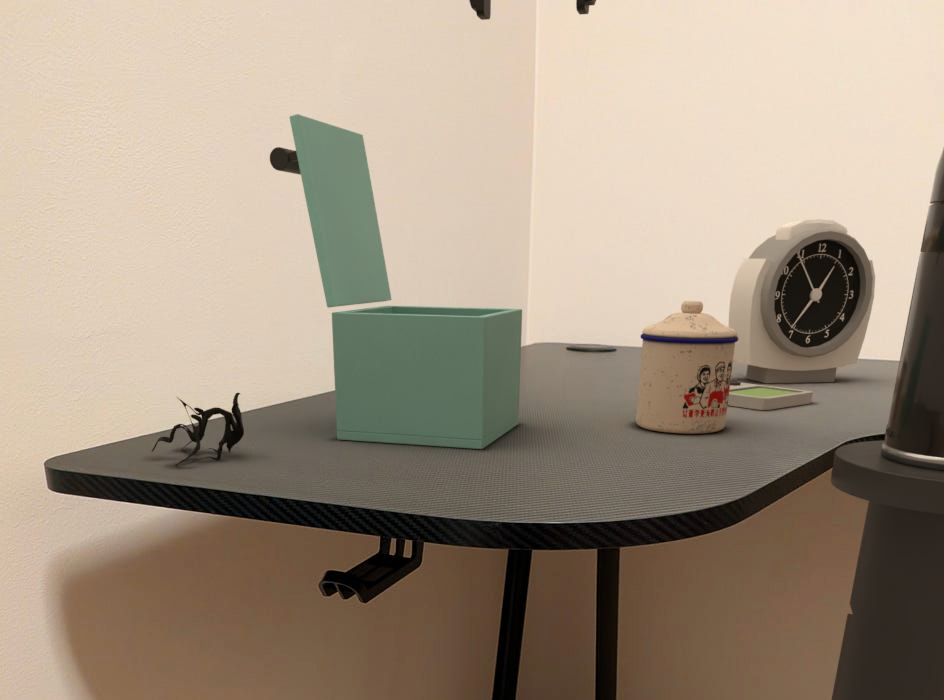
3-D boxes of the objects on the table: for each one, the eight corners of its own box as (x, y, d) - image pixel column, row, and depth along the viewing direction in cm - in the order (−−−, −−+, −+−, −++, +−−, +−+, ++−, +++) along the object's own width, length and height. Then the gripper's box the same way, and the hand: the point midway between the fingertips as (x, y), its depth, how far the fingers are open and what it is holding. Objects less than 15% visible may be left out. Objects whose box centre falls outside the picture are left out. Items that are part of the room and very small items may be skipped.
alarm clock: (746, 385, 120) (768, 217, 112) (715, 377, 128) (734, 219, 120) (865, 382, 124) (894, 220, 116) (828, 375, 132) (853, 222, 124)
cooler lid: (362, 134, 84) (311, 147, 86) (297, 113, 72) (239, 128, 74) (391, 299, 89) (342, 308, 91) (335, 306, 77) (279, 316, 79)
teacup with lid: (691, 438, 84) (706, 304, 79) (614, 425, 90) (623, 300, 85) (761, 424, 91) (777, 301, 87) (685, 413, 98) (697, 298, 93)
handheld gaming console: (709, 376, 116) (816, 388, 105) (708, 388, 116) (813, 402, 106) (658, 381, 110) (766, 395, 99) (657, 395, 111) (764, 410, 100)
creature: (154, 482, 70) (254, 457, 71) (128, 414, 68) (233, 388, 69) (164, 461, 77) (255, 438, 78) (141, 399, 75) (235, 376, 76)
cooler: (518, 424, 90) (522, 309, 86) (482, 449, 78) (484, 317, 74) (390, 416, 94) (388, 305, 90) (336, 439, 82) (331, 312, 78)
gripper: (437, -247, 68) (438, 9, 75) (627, -273, 65) (610, -2, 71) (465, -202, 75) (463, 29, 81) (639, -224, 71) (623, 21, 78)
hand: (532, 15), depth 76 cm, fingers open, 8 cm apart
